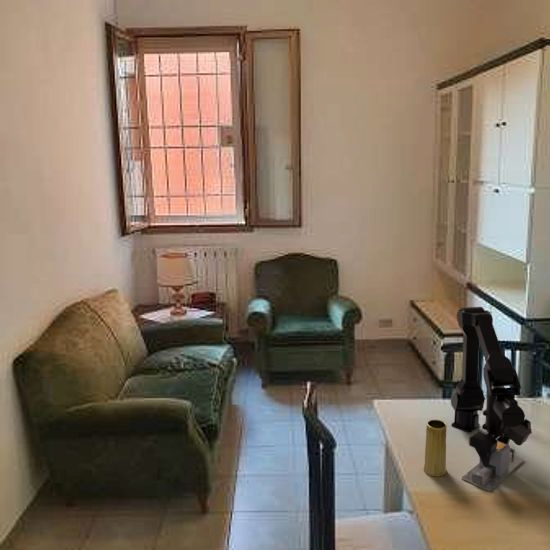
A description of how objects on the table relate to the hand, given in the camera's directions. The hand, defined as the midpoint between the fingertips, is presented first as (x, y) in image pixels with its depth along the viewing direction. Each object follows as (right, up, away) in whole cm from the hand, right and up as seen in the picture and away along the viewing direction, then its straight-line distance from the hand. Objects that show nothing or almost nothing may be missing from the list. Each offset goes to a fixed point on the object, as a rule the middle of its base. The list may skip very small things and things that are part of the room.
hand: (494, 460), depth 155 cm
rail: (0, -3, +1) cm, 3 cm away
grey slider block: (0, -2, +1) cm, 2 cm away
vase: (-16, -4, +1) cm, 16 cm away
